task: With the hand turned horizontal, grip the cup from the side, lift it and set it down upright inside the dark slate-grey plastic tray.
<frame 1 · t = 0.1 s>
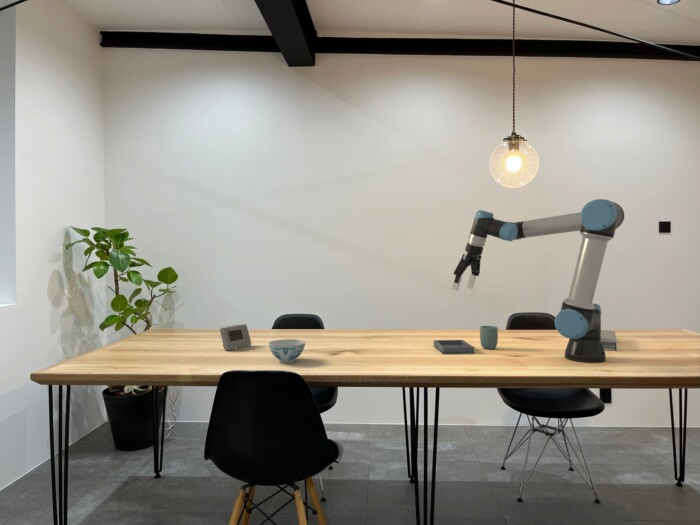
hand: (462, 288, 217), 28 cm above the table, tool tilted 20°, fingers open, 13 cm apart
cup: (488, 349, 217), on the table
chinaware: (287, 361, 196), on the table
digital clock: (236, 348, 224), on the table
power supply unit: (593, 345, 228), on the table
tray: (453, 349, 216), on the table
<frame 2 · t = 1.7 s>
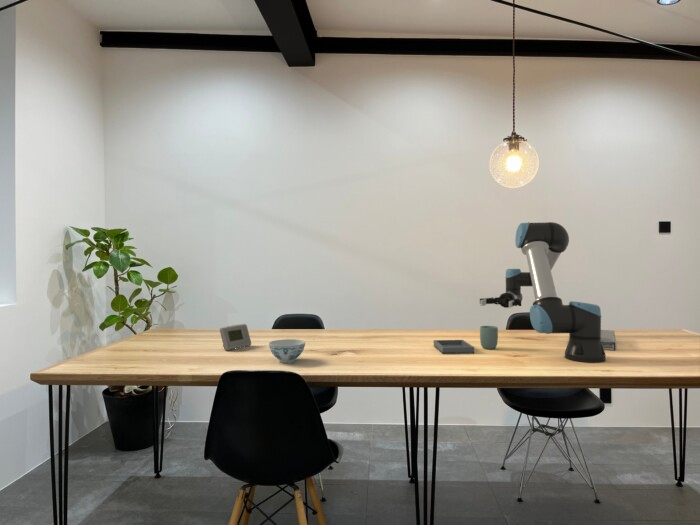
hand: (495, 303, 225), 20 cm above the table, tool horizontal, fingers open, 13 cm apart
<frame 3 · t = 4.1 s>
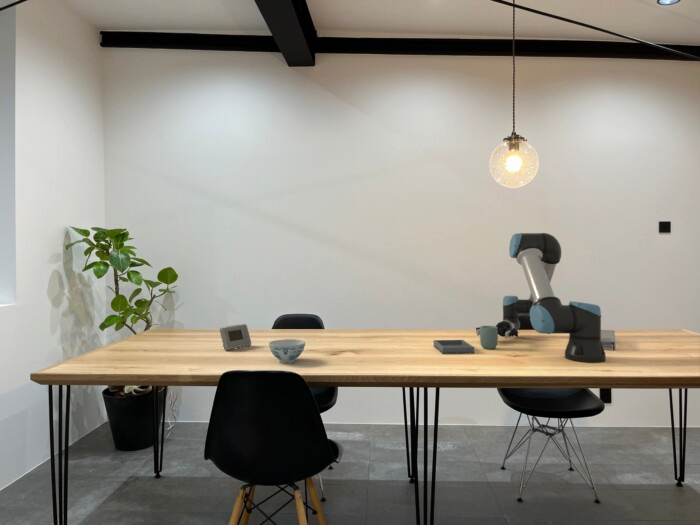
hand: (491, 334, 222), 6 cm above the table, tool horizontal, fingers open, 13 cm apart
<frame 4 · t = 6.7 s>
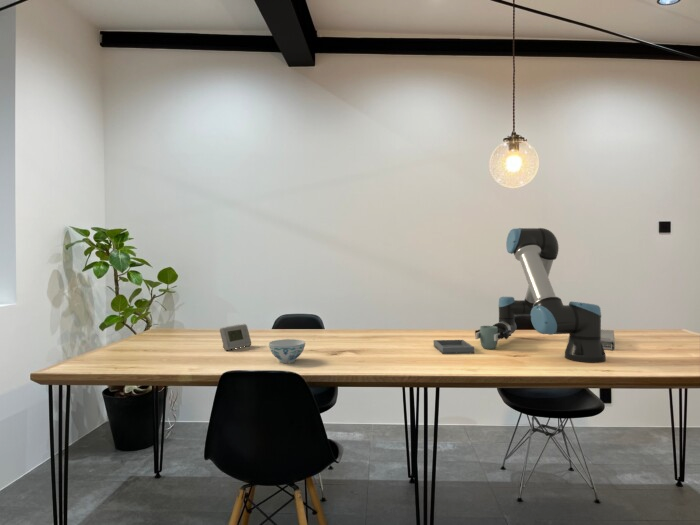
hand: (485, 337, 213), 6 cm above the table, tool horizontal, fingers closed on cup, 8 cm apart
cup: (488, 348, 217), on the table, touching gripper
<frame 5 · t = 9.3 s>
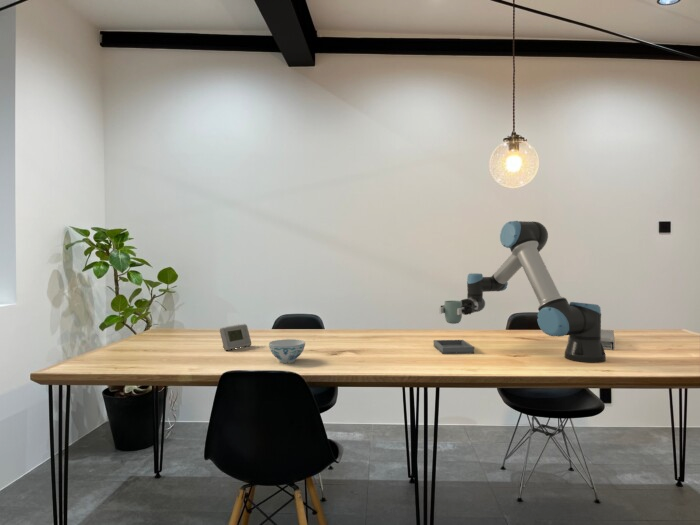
hand: (449, 311, 212), 18 cm above the table, tool horizontal, fingers closed on cup, 8 cm apart
cup: (453, 323, 216), point 12 cm above the table, touching gripper
when the fingers open (8 cm above the table, at t = 12.0 s): cup drops 1 cm, resting on tray.
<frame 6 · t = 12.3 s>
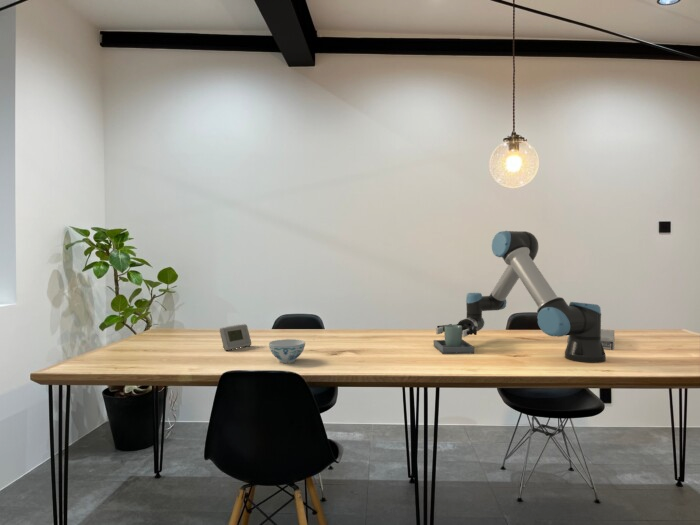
hand: (449, 332, 213), 8 cm above the table, tool horizontal, fingers open, 12 cm apart
cup: (453, 348, 216), point 1 cm above the table, touching tray
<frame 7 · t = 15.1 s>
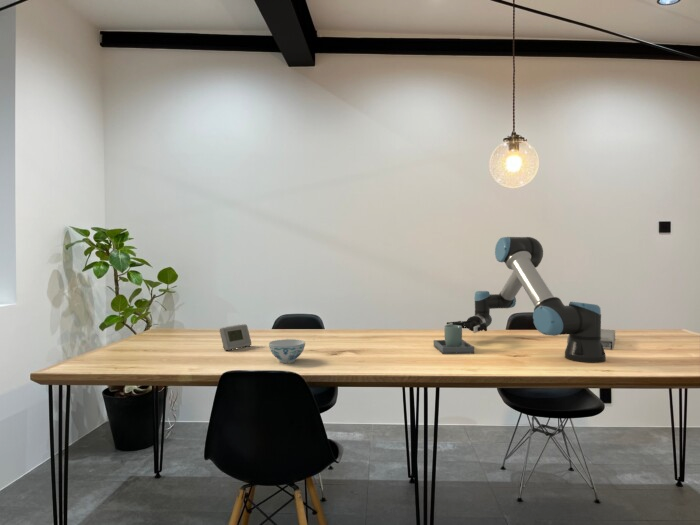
hand: (460, 328, 223), 8 cm above the table, tool horizontal, fingers open, 13 cm apart
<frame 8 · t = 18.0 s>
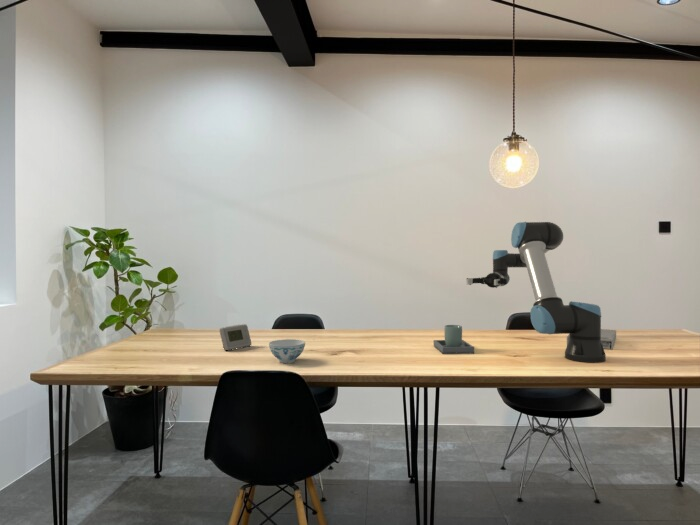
hand: (480, 282, 228), 30 cm above the table, tool horizontal, fingers open, 13 cm apart
at the end: cup inside the target area on the tray (0.1 cm from its centre), point 0.6 cm above the tray's base; cup tilted 0°; the gripper is holding nothing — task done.
